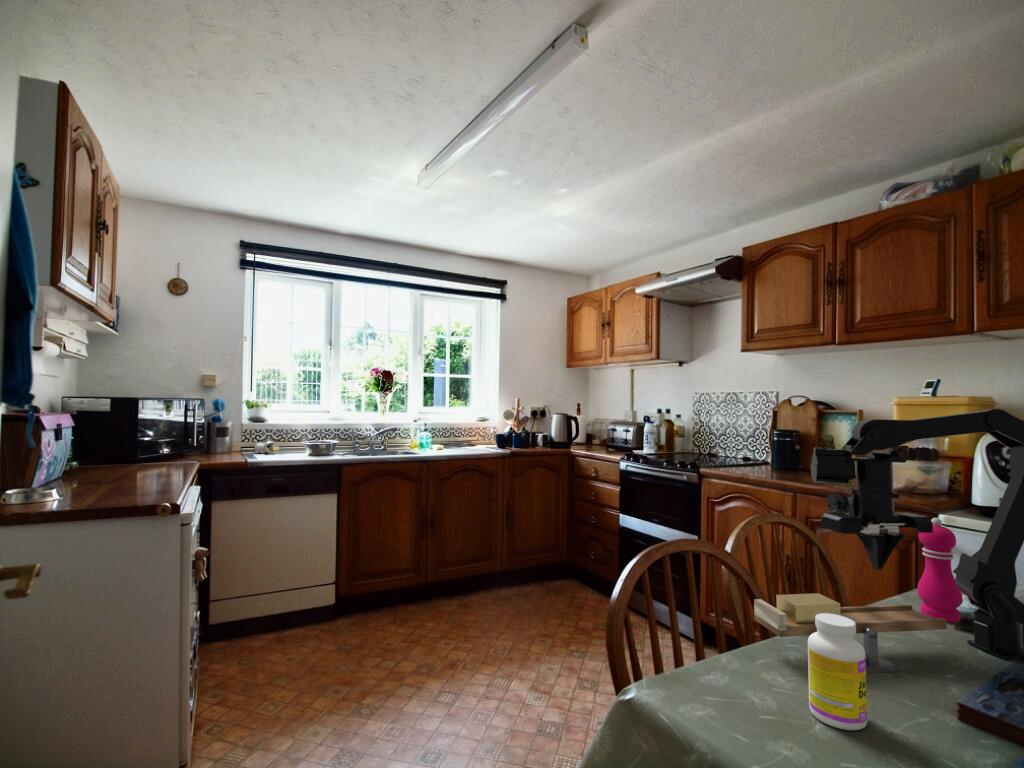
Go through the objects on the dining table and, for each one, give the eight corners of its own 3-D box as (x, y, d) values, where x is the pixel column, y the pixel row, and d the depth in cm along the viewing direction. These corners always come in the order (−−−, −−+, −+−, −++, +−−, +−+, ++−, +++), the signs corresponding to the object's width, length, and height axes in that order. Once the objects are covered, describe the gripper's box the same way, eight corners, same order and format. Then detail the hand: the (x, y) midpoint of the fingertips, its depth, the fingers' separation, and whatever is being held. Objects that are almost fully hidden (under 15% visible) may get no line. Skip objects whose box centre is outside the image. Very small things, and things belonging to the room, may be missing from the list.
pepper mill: (946, 611, 109) (942, 515, 110) (973, 624, 102) (968, 521, 103) (909, 609, 110) (906, 514, 111) (933, 623, 102) (929, 520, 104)
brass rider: (819, 613, 90) (818, 593, 91) (840, 625, 85) (840, 603, 86) (776, 615, 89) (776, 594, 90) (796, 627, 84) (795, 605, 85)
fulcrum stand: (839, 639, 94) (838, 604, 95) (895, 671, 82) (894, 631, 83) (809, 640, 94) (808, 605, 94) (861, 672, 82) (860, 632, 82)
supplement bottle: (869, 739, 65) (865, 633, 65) (808, 722, 68) (805, 622, 69) (866, 713, 70) (863, 616, 71) (810, 699, 74) (807, 607, 75)
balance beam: (909, 613, 93) (908, 593, 94) (946, 629, 87) (945, 607, 87) (754, 619, 90) (754, 599, 90) (780, 637, 83) (779, 614, 83)
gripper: (884, 480, 107) (886, 556, 106) (800, 480, 105) (802, 558, 104) (933, 487, 96) (937, 573, 95) (841, 487, 94) (844, 575, 93)
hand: (877, 569), depth 97 cm, fingers closed
